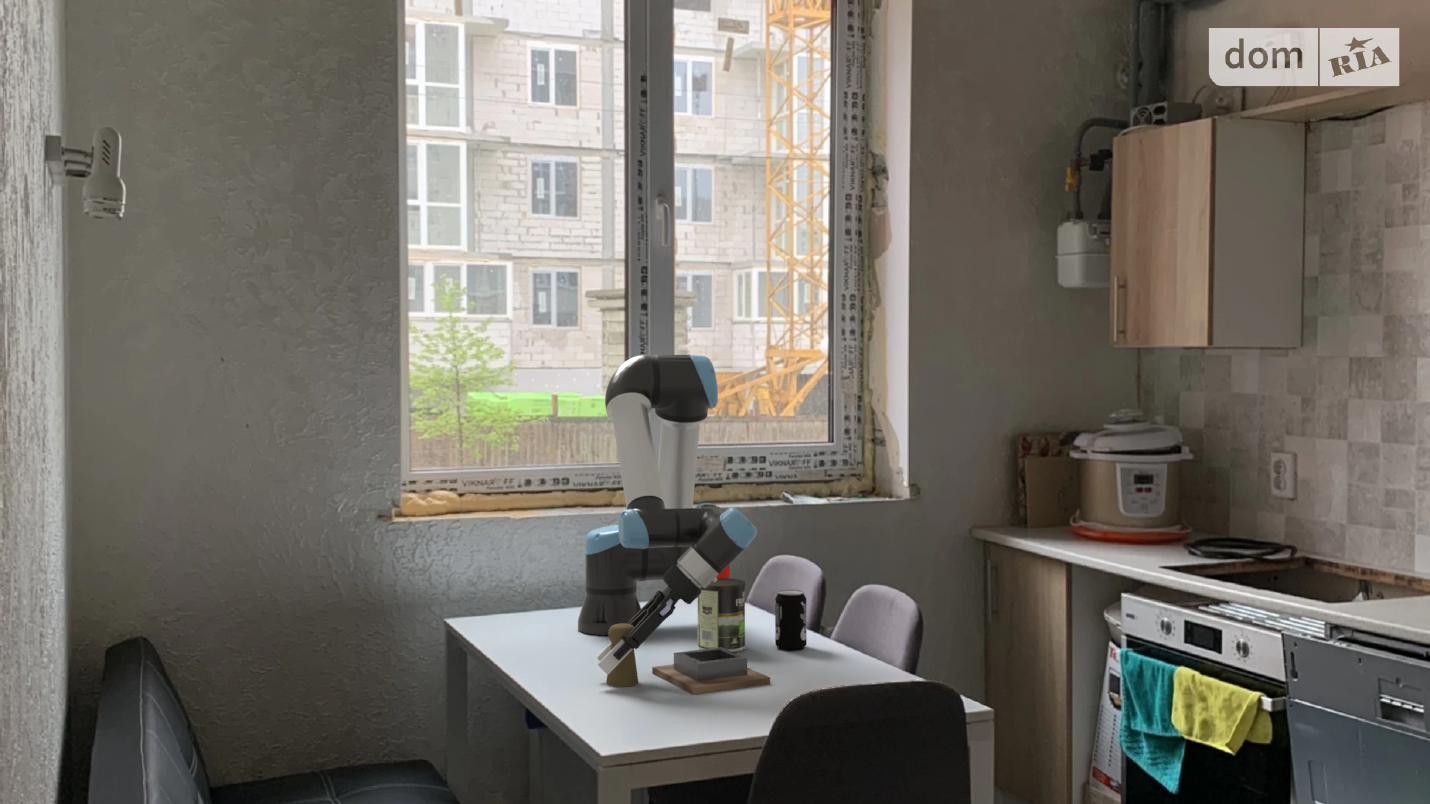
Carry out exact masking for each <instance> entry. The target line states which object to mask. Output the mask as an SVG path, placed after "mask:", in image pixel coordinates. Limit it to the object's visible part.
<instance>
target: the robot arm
mask: <svg viewBox="0 0 1430 804" xmlns="http://www.w3.org/2000/svg"><path fill="white" fill-rule="evenodd" d="M718 391H719V389H718V383H717V376H716V371H715V367H714V365H713V363H712V361H711V359H710V358H708V357H707V356H705V355H696V354H690V353H688V354H639V355H636V356H635V355H634V356H633V357H631V358H629V359H627V360H626V361H625V362H623V363H622V364H621V365H620V366H619V367H618V368H617V369H616V370H615V372H614V373H613V374H612V376H611V378H610V379H609V382H608V383H607V387H606V390H605V397H604V404H605V411H606V412H605V413H606V415H607V417H608V418H609V420H611V421H612V425H613V431H614V437H615V444H616V450H617V455H618V456H617V457H618V461H619V468H620V475H621V481H622V487H623V494H624V499H625V505H626V509H624V510H622V511H620V513H619V514H618V515H619V516H618V522H617V523H618V524H613V525H608V526H603V527H598V528H594V529H592V530H590V531H589V532H587V534H586V538H585V544H584V545H585V546H584V555H585V597H584V600H583V603H582V607H581V609H580V613H579V615H578V619H577V629H578V631H579V632H581V633H584V634H588V635H597V636H609V635H608V632H609V629H610V627H611V626H612V625H615V624H621V623H624V624H631V625H633V626H634V629H633V630H632V631H631V632H630V633H629V634H628V635H627V636H626V637H625V636H624V635H622V636H621V640H620V642H619V643H618V644H617V645H616V646H615V647H614V648H613V649H612V650H611V642H610V643H609V644H608V645H606V647H605V648H604V649H603V650H602V651H601V652H600V653H599V654H598V655H597V656H596V658H597V659H598V660H599V662H598V663H597V666H598V667H599V668H600V669H601V670H602V671H603V672H604V673H605V674H609V673H610V672H611V671H612V670H613V669H614V668H615V667H616V666H617V665H618V664H619V663H620V662H621V661H622V660H623V659H624V658H625V657H626V656H627V655H628V654H629V653H630V652H631V651H632V650H633V649H634V650H638V649H639V648H640V646H641V645H642V644H643V643H644V642H645V641H646V640H647V639H648V638H649V637H650V636H651V635H652V634H653V633H654V632H655V631H656V629H657V628H659V627H660V625H661V624H662V623H663V622H664V621H665V620H666V619H667V618H668V617H670V616H671V615H673V613H674V610H675V609H676V606H675V605H677V603H678V602H679V600H682V602H684V603H685V604H686V605H691V604H692V603H693V602H694V601H695V600H696V599H698V596H699V595H700V594H701V591H702V590H701V588H702V587H703V588H706V587H707V586H708V585H709V584H710V583H711V581H713V582H716V581H717V578H716V577H717V576H718V575H719V574H720V573H721V572H722V571H723V570H724V569H725V568H726V567H727V566H728V565H729V566H730V564H731V563H732V562H733V561H734V560H735V559H736V558H737V557H738V556H739V555H740V554H741V553H742V552H743V551H744V550H746V549H747V548H748V547H749V545H750V544H751V542H752V541H753V540H755V538H756V536H757V535H758V528H757V527H756V526H755V525H754V524H753V523H752V522H751V521H750V520H749V519H748V517H746V516H745V515H744V514H743V513H742V512H741V511H740V510H739V509H737V508H736V507H734V506H731V507H728V508H727V509H726V510H724V509H723V508H721V507H720V506H718V505H716V504H714V503H710V502H702V503H700V504H697V505H696V506H694V498H695V497H694V496H695V487H696V486H695V485H696V484H695V482H696V474H697V473H696V472H697V461H698V460H697V458H698V449H699V448H698V447H699V437H700V425H701V423H703V422H704V421H706V420H707V418H708V412H709V411H708V410H709V409H710V410H713V409H714V408H716V407H717V404H718V399H719V397H718V396H719V393H718ZM652 409H654V414H655V416H656V417H657V418H658V420H660V432H659V433H660V434H659V435H660V436H659V447H658V458H657V455H656V450H655V445H654V439H653V434H652V428H651V423H650V418H649V414H650V413H651V410H652ZM657 459H658V462H657ZM657 581H659V582H661V581H662V582H664V583H665V584H666V587H665V588H664V589H662V591H661V589H660V590H657V591H656V592H655V593H654V594H653V595H652V597H651V599H649V600H648V602H647V603H645V605H643V606H642V607H641V604H640V600H639V598H638V594H637V593H638V592H637V591H638V588H637V583H641V582H657ZM610 650H611V651H610Z"/></svg>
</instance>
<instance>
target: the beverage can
mask: <svg viewBox="0 0 1430 804" xmlns="http://www.w3.org/2000/svg"><path fill="white" fill-rule="evenodd" d="M776 592H777V594H776V597H775V598H774V599H775V600H774V605H775V606H774V608H775V609H774V611H775V612H774V615H775V616H774V624H775V625H774V626H775V628H774V629H775V630H774V631H775V634H774V635H775V637H774V638H775V639H774V640H775V642H774V643H775V646H776V647H777V649H779V650H780V651H781V650H782V651H788V652H789V651H790V652H796V651H801V650H804V649H805V647H806V646H807V645H808V644H807V640H808V639H807V597H806V595H805V591H804V590H801V589H795V588H790V589H789V588H787V589H785V588H784V589H780V590H777V591H776Z"/></svg>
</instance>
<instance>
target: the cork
mask: <svg viewBox="0 0 1430 804" xmlns="http://www.w3.org/2000/svg"><path fill="white" fill-rule="evenodd" d="M633 629H634V626H633V625H631V624H624V623H621V624H615V625H612V626H611V627H610V629H609V632H608V635H607V636H608V639H609V641H610V643H611V650H612V649H613V648H614V647H615V646H616V645H617V644H618V643H619V642H620V640H621V636H622V635H624V636H625V637H626V636H627V635H628V634H629V633H630V632H631V631H632V630H633ZM611 650H610V651H611ZM637 684H639V677H638V669H637V661H636V655H635V648H634V649H633V650H632V651H631V652H630V653H629V654H628V655H627V656H626V657H625V658H624V659H623V660H622V661H621V662H620V663H619V664H618V665H617V666H616V667H615V668H614V669H613V670H612V671H611V672H610V673H609V674H607V675H606V685H608V686H610V687H616V688H617V687H619V688H622V687H624V688H625V687H631V686H636V685H637Z"/></svg>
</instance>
